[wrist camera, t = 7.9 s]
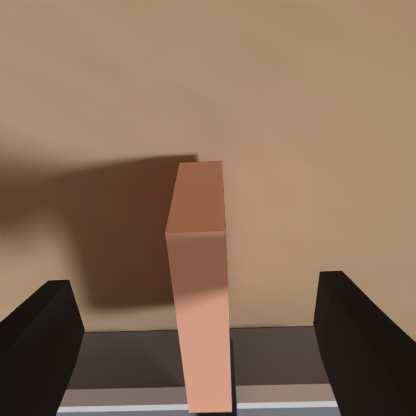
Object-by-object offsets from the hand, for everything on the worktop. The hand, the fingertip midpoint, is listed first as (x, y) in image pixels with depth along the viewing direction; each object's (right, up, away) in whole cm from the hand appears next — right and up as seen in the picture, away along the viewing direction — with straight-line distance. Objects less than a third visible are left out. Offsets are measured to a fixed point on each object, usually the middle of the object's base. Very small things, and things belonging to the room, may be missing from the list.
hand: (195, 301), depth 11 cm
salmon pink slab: (0, +1, +9) cm, 9 cm away
